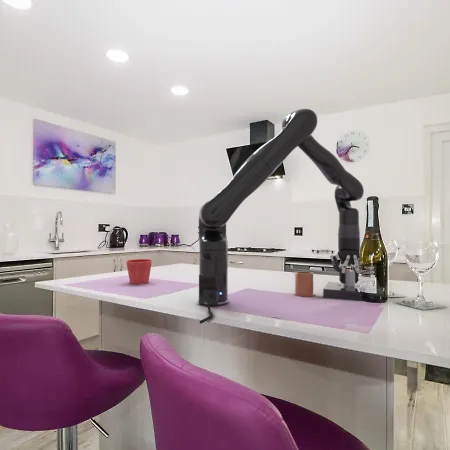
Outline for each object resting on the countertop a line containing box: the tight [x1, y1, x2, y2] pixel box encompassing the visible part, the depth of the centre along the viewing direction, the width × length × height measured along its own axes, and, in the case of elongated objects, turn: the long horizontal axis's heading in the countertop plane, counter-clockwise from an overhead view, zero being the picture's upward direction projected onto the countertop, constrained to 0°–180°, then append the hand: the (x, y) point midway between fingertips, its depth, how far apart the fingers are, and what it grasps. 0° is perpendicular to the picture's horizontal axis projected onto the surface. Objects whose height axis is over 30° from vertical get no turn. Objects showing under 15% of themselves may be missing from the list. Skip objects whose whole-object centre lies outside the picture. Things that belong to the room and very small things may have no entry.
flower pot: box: [126, 258, 153, 285], centre depth 144 cm, size 11×11×10 cm
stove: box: [322, 281, 362, 302], centre depth 120 cm, size 16×12×3 cm
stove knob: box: [343, 269, 356, 287], centre depth 121 cm, size 4×4×6 cm
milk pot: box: [294, 270, 314, 298], centre depth 120 cm, size 6×6×8 cm
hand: (349, 282), depth 122 cm, fingers closed on stove knob, 4 cm apart
